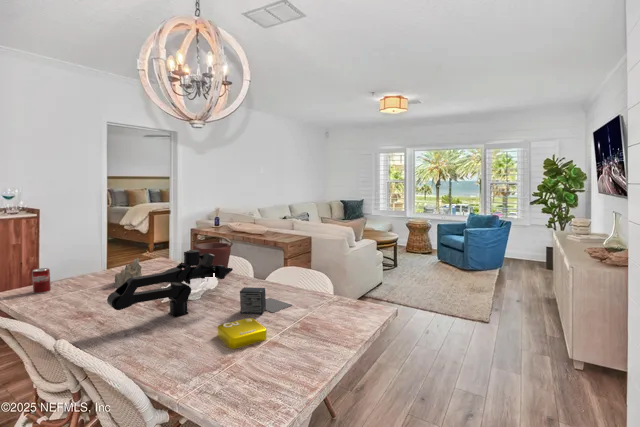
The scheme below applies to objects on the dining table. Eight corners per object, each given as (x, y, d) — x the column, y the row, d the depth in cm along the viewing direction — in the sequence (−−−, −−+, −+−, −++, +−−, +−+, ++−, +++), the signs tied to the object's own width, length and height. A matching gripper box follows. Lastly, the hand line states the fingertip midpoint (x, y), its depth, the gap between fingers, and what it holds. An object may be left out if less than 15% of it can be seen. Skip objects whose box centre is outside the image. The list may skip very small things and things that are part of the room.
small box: (266, 308, 165) (266, 287, 164) (262, 314, 159) (262, 292, 157) (244, 307, 166) (243, 286, 165) (240, 313, 160) (239, 291, 158)
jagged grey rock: (139, 276, 216) (137, 253, 213) (147, 284, 203) (144, 259, 201) (110, 283, 206) (108, 258, 203) (116, 291, 193) (113, 264, 191)
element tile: (230, 351, 126) (230, 338, 125) (216, 335, 138) (216, 324, 137) (268, 340, 135) (268, 328, 134) (251, 326, 147) (251, 315, 146)
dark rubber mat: (272, 313, 161) (272, 312, 161) (249, 304, 171) (249, 304, 171) (292, 305, 171) (292, 304, 171) (269, 298, 181) (269, 297, 181)
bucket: (238, 271, 231) (238, 234, 228) (220, 281, 210) (219, 239, 207) (206, 268, 237) (205, 232, 235) (185, 277, 216) (184, 237, 214)
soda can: (35, 290, 188) (34, 268, 186) (52, 289, 191) (51, 267, 190) (31, 294, 181) (29, 272, 180) (48, 293, 184) (47, 270, 183)
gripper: (209, 256, 157) (238, 253, 169) (188, 252, 170) (216, 250, 181) (208, 281, 158) (238, 276, 169) (188, 275, 170) (216, 271, 182)
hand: (226, 268), depth 175 cm, fingers open, 9 cm apart
